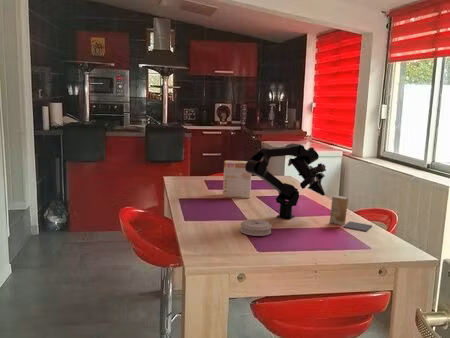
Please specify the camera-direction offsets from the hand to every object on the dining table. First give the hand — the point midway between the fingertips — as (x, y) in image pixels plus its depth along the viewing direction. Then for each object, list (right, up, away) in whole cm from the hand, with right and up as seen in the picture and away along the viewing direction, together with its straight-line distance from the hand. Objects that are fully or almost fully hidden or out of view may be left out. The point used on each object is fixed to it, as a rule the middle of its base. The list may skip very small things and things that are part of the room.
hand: (324, 195), depth 206 cm
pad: (+13, -14, -7) cm, 20 cm away
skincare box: (+6, -13, -2) cm, 14 cm away
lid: (-33, -15, -21) cm, 41 cm away
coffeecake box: (-39, -3, +43) cm, 58 cm away
